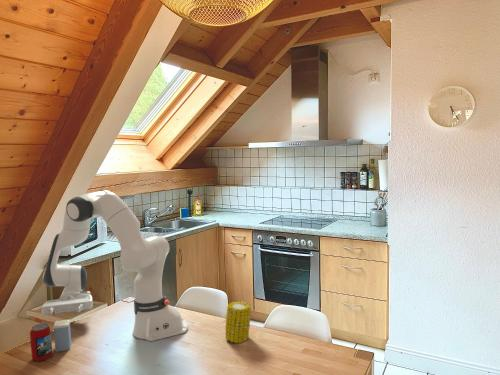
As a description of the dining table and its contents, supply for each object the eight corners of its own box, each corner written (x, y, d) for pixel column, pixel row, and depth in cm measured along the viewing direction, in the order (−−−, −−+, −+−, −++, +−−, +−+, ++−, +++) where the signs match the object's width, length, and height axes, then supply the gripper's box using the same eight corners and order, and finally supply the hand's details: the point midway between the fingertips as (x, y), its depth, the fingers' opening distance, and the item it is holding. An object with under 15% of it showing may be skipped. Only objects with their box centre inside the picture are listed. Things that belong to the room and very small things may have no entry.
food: (226, 337, 164) (250, 338, 164) (223, 345, 152) (249, 346, 152) (227, 299, 166) (251, 300, 166) (224, 303, 154) (250, 304, 154)
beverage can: (44, 363, 145) (41, 331, 144) (27, 361, 147) (25, 329, 145) (56, 353, 152) (54, 323, 151) (40, 352, 153) (38, 321, 152)
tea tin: (71, 343, 160) (69, 319, 159) (70, 349, 155) (68, 324, 154) (57, 345, 158) (55, 321, 157) (55, 352, 153) (53, 326, 152)
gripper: (44, 296, 177) (37, 308, 164) (93, 290, 183) (91, 301, 170) (44, 309, 178) (38, 322, 165) (94, 304, 184) (91, 316, 171)
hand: (65, 312), depth 168 cm, fingers open, 8 cm apart
